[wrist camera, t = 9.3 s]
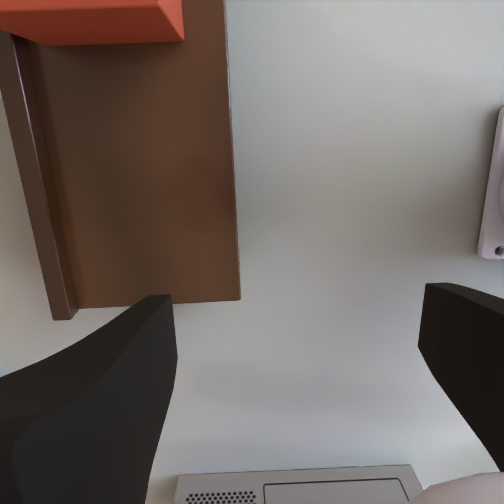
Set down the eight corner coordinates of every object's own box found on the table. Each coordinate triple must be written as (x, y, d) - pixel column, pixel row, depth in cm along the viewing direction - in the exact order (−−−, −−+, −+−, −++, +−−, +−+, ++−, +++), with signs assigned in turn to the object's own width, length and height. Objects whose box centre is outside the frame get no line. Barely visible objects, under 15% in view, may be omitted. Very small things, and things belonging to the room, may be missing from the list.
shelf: (214, -219, 15) (205, -368, 10) (239, 268, 22) (241, 311, 17) (2, -215, 15) (-105, -366, 10) (92, 276, 22) (52, 321, 17)
